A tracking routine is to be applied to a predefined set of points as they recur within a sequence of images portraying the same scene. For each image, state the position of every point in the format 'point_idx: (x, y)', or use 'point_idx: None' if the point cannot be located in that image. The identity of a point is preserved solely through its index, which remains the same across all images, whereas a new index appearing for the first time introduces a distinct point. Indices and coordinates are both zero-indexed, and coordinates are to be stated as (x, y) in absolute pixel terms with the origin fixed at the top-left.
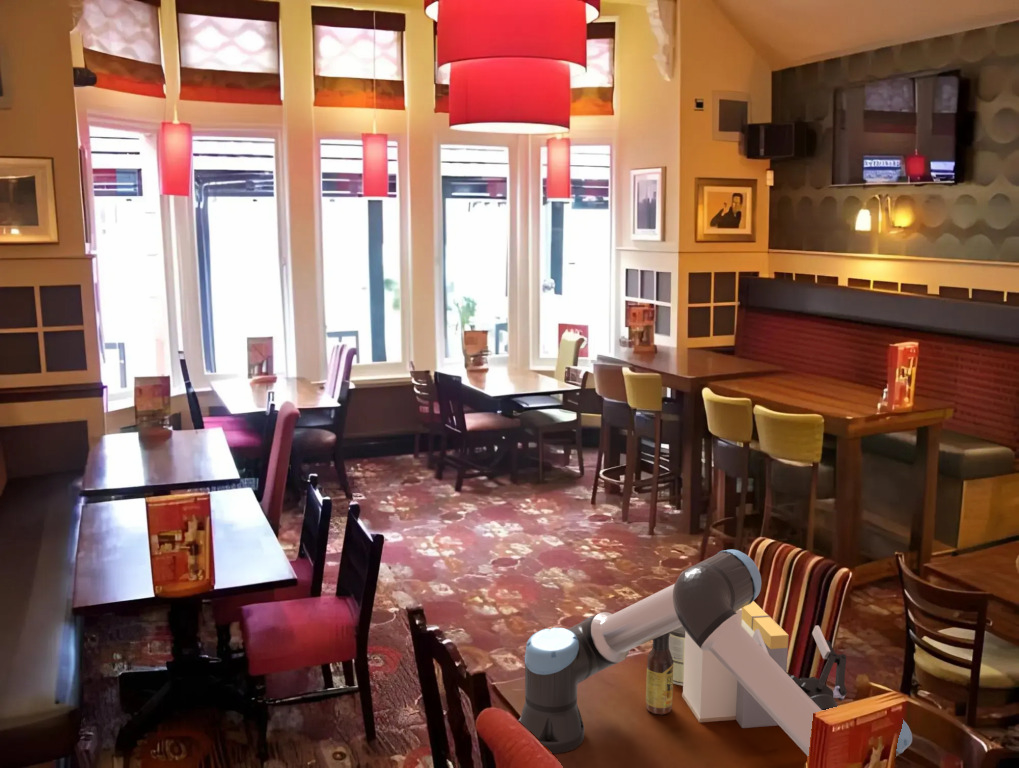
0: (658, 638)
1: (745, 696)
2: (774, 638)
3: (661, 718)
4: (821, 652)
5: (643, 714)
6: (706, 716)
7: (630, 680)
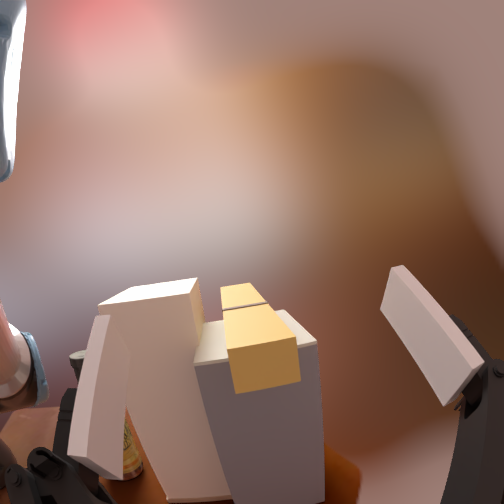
0: (74, 368)
1: (230, 481)
2: (243, 356)
3: (116, 486)
4: (432, 378)
5: (99, 475)
6: (178, 496)
7: (130, 422)
